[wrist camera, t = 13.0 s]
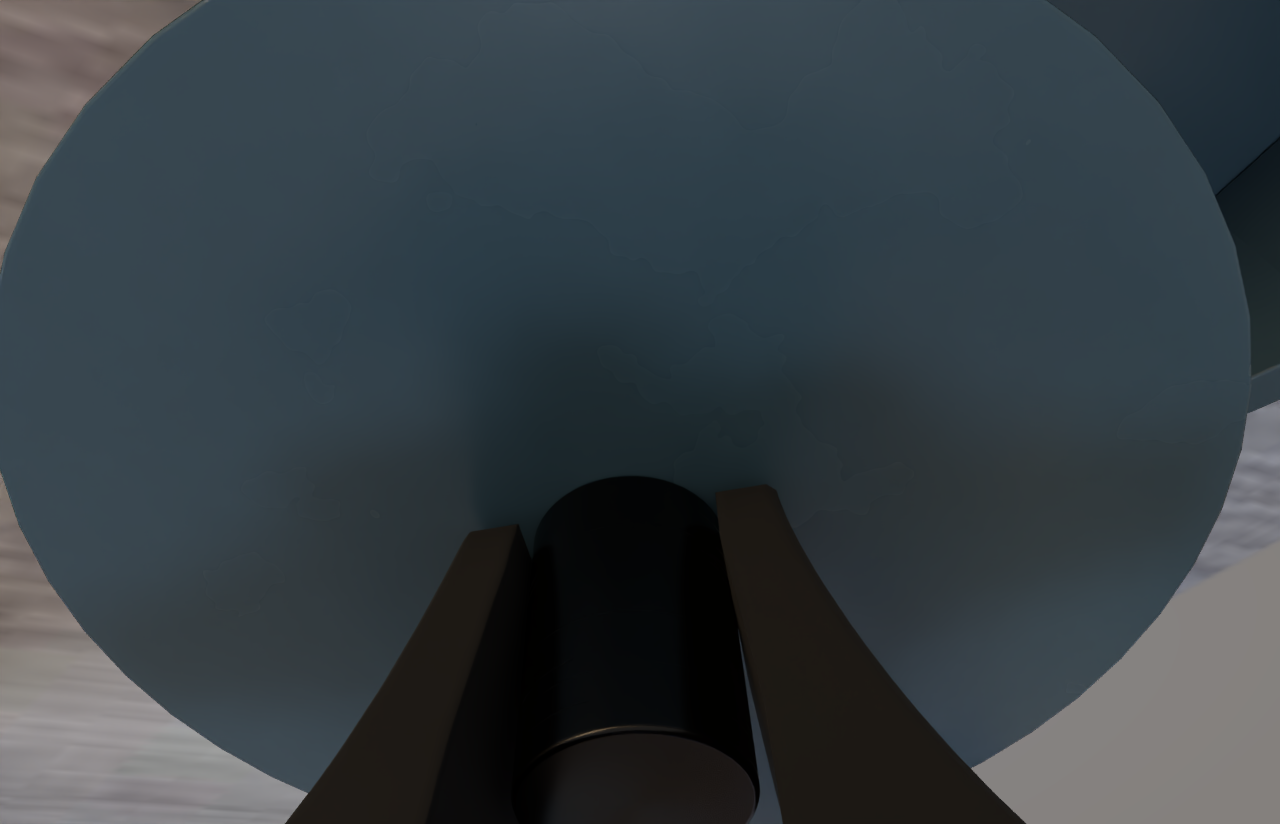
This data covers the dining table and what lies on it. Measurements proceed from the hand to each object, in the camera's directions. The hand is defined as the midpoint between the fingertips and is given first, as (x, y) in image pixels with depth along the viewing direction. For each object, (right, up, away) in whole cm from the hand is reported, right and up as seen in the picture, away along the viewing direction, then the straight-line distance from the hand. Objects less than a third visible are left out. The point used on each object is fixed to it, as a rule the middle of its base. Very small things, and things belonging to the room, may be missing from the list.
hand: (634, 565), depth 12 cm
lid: (0, +1, +1) cm, 1 cm away
